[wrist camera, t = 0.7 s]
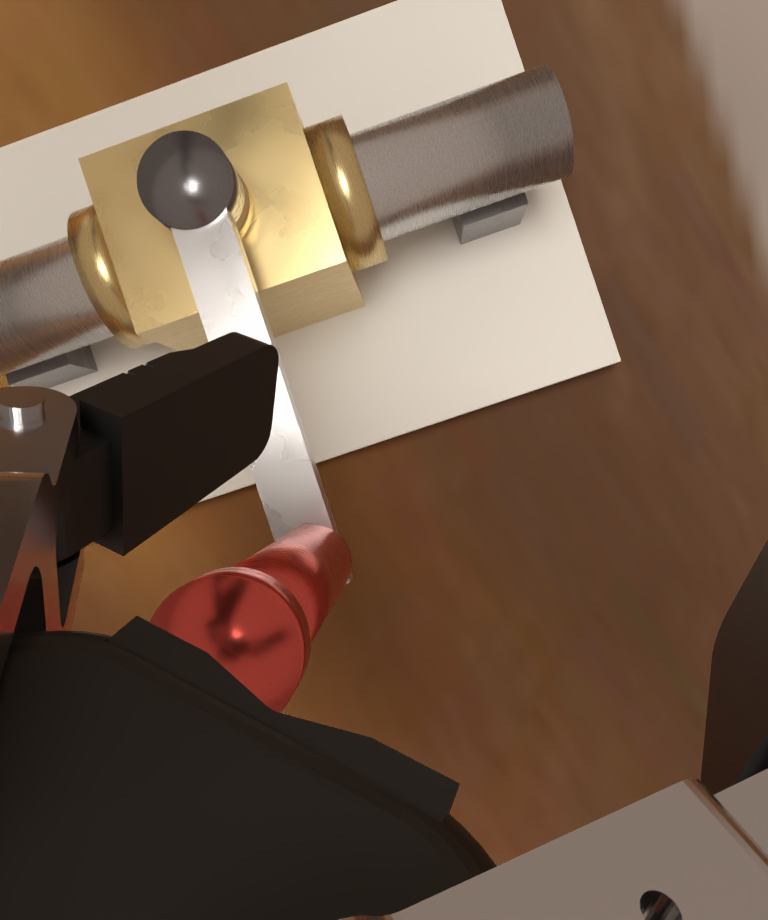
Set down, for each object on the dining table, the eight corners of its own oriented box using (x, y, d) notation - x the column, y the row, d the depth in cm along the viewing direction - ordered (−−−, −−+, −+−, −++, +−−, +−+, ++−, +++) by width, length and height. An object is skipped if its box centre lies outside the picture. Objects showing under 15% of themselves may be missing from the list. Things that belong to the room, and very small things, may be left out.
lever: (144, 169, 26) (-110, -81, 14) (228, 139, 26) (46, -143, 14) (290, 610, 26) (168, 757, 14) (375, 583, 26) (328, 706, 14)
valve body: (-20, 292, 37) (-178, 237, 27) (512, 101, 35) (544, -30, 26) (23, 424, 37) (-119, 415, 27) (558, 239, 35) (608, 160, 26)
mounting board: (-42, 180, 39) (-61, 170, 37) (487, -15, 37) (489, -34, 35) (78, 543, 38) (64, 546, 37) (613, 364, 37) (621, 360, 35)
